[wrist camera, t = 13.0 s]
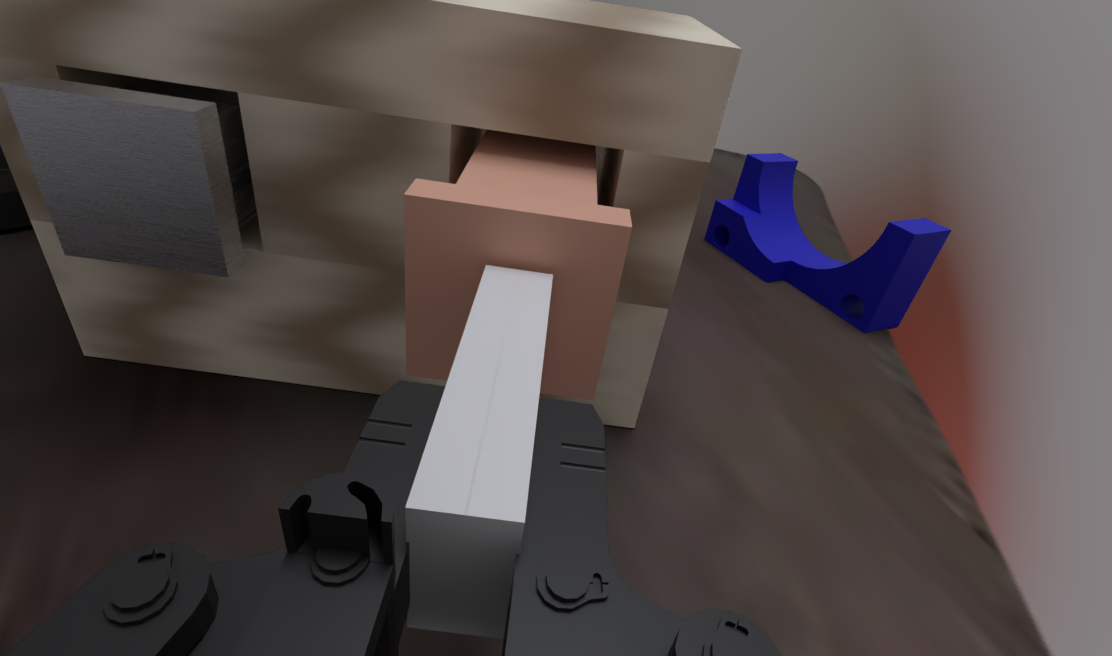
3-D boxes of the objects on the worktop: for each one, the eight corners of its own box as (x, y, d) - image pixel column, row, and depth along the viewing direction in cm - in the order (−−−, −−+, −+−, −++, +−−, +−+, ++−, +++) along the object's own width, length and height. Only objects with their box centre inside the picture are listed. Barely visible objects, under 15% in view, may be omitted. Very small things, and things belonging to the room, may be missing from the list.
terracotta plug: (406, 375, 15) (403, 194, 12) (482, 198, 25) (489, 80, 22) (593, 400, 15) (632, 227, 12) (591, 213, 25) (611, 99, 23)
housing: (84, 355, 22) (-90, -82, 14) (214, 251, 29) (145, -70, 22) (634, 428, 22) (742, 49, 15) (622, 308, 30) (690, 16, 22)
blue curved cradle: (703, 241, 39) (729, 154, 36) (752, 236, 41) (781, 153, 38) (844, 339, 31) (896, 236, 27) (897, 327, 33) (951, 230, 29)
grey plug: (64, 255, 17) (0, 83, 14) (264, 139, 27) (247, 27, 25) (228, 277, 17) (194, 111, 14) (364, 154, 28) (359, 44, 25)
